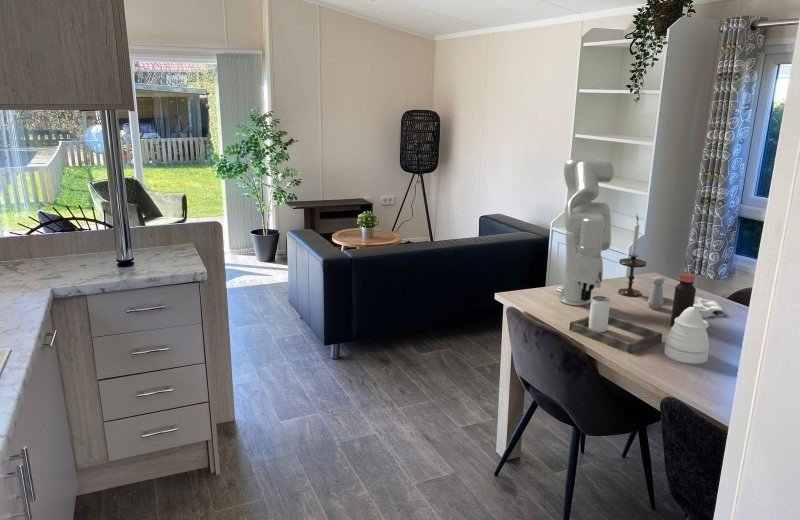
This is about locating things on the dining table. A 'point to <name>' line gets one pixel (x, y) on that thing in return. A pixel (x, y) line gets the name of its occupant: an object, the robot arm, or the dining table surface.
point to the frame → (650, 339)
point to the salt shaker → (656, 294)
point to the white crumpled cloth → (708, 307)
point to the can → (599, 313)
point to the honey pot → (688, 337)
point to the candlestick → (632, 265)
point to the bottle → (683, 295)
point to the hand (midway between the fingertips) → (585, 299)
